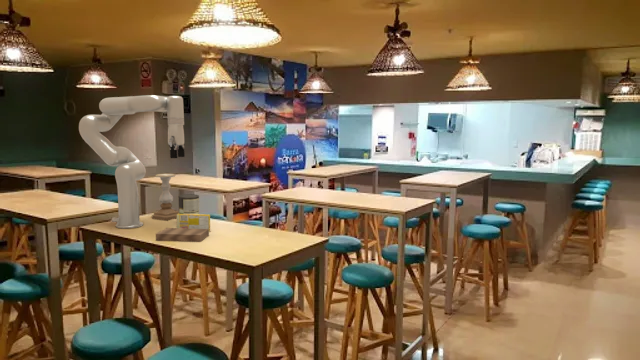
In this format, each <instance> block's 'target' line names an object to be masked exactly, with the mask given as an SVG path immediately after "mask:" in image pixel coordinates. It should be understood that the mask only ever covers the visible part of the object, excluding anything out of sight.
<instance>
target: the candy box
mask: <svg viewBox="0 0 640 360" xmlns="http://www.w3.org/2000/svg"><path fill="white" fill-rule="evenodd" d="M176 228H191V229H209V233H210V232H211V214H200V213H199V214H177V218H176Z"/></svg>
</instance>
